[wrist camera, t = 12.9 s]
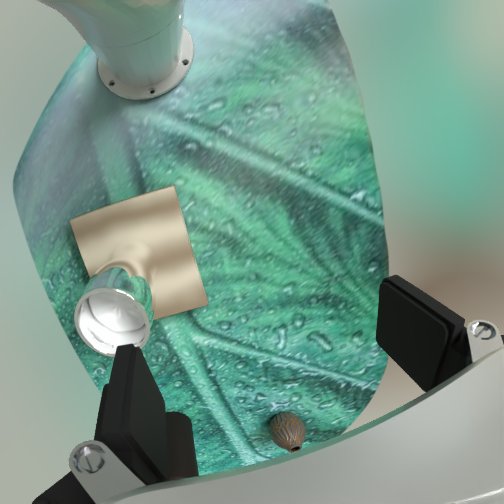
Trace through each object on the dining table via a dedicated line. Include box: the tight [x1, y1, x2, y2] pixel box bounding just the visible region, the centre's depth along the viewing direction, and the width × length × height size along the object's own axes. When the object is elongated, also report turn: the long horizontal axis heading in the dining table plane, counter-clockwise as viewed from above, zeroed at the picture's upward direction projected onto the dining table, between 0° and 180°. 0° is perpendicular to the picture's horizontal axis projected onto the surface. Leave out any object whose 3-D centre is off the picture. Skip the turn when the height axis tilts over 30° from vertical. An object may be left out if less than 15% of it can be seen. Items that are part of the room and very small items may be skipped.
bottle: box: [165, 412, 199, 482], centre depth 39 cm, size 7×7×20 cm
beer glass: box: [74, 240, 158, 357], centre depth 29 cm, size 7×7×15 cm
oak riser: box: [70, 185, 208, 320], centre depth 37 cm, size 16×14×3 cm
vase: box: [269, 412, 305, 453], centre depth 50 cm, size 7×7×9 cm
